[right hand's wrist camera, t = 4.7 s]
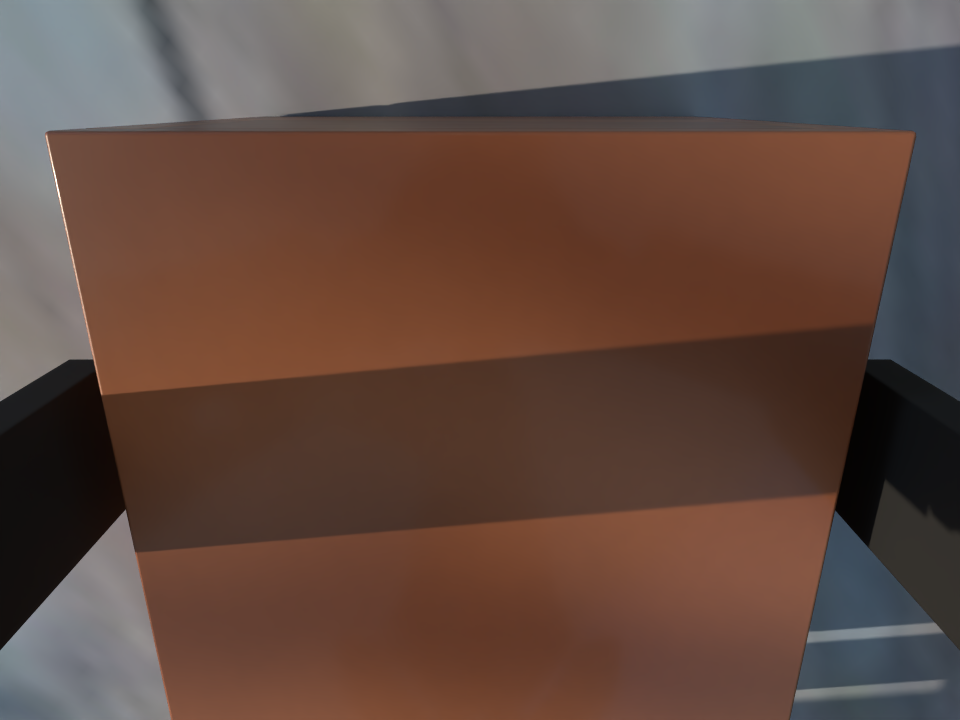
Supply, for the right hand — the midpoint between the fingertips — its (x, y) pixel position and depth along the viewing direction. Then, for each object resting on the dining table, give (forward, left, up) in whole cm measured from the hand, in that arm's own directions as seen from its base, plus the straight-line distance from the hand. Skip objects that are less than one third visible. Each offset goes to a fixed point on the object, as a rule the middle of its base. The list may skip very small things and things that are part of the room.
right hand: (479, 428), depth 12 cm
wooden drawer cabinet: (+2, +2, -7) cm, 8 cm away
